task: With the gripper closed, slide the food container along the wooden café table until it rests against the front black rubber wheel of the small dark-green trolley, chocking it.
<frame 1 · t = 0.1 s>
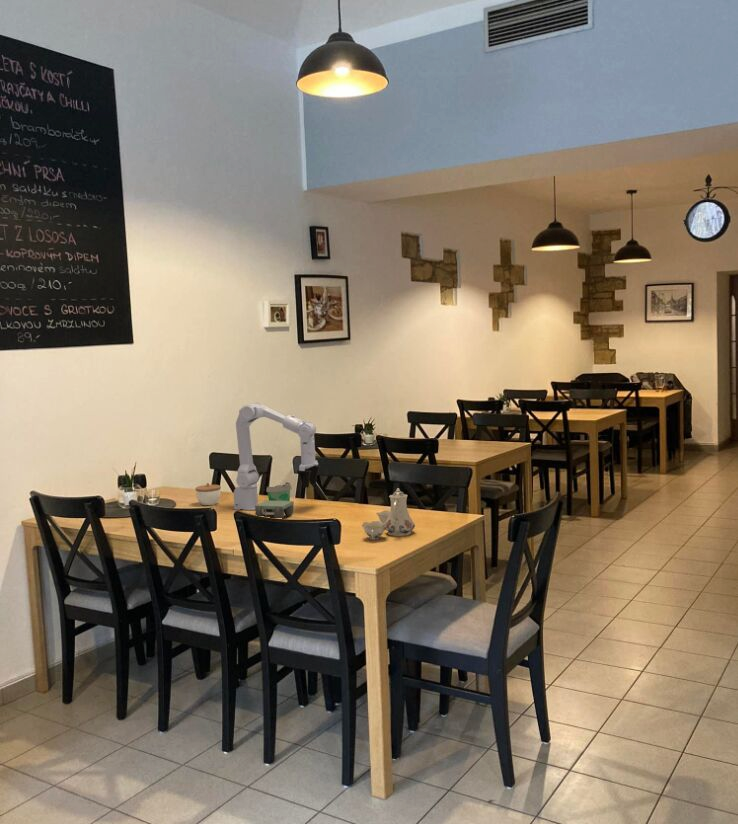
hand: (309, 485, 330), 10 cm above the table, fingers open, 7 cm apart
lidded jar: (209, 505, 351), on the table
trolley: (275, 517, 319), on the table
food container: (283, 509, 335), on the table
chinaware: (391, 533, 286), on the table
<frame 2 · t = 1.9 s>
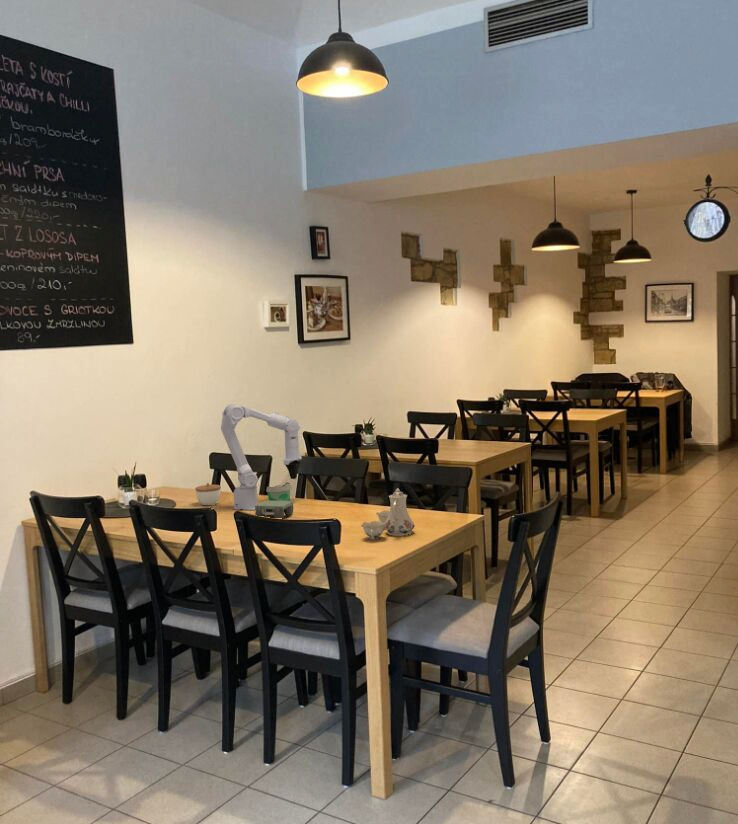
hand: (293, 478, 346), 10 cm above the table, fingers closed
nothing on the table moved.
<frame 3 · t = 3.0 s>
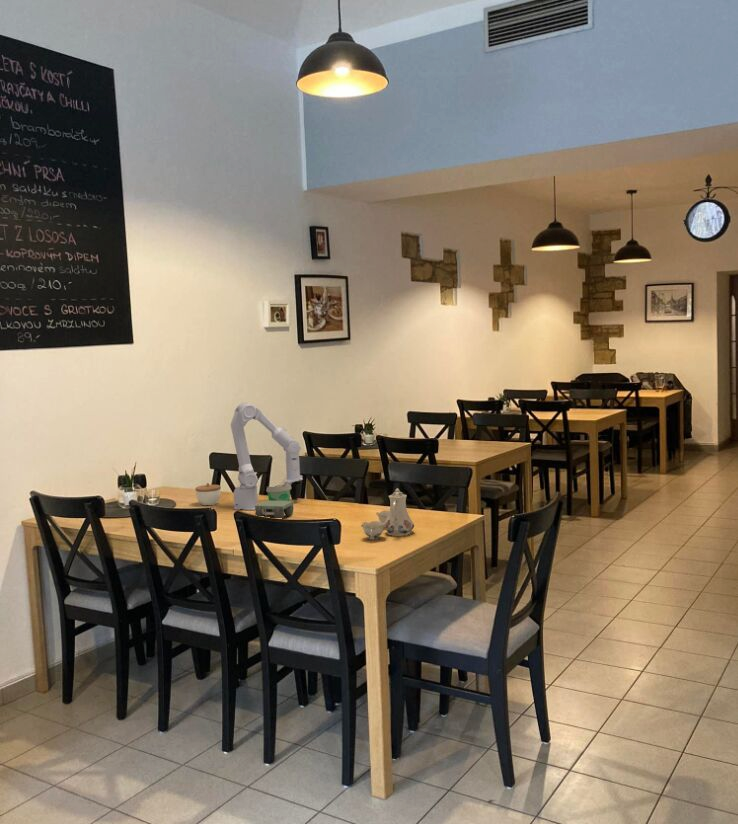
hand: (294, 499, 346), 1 cm above the table, fingers closed
nothing on the table moved.
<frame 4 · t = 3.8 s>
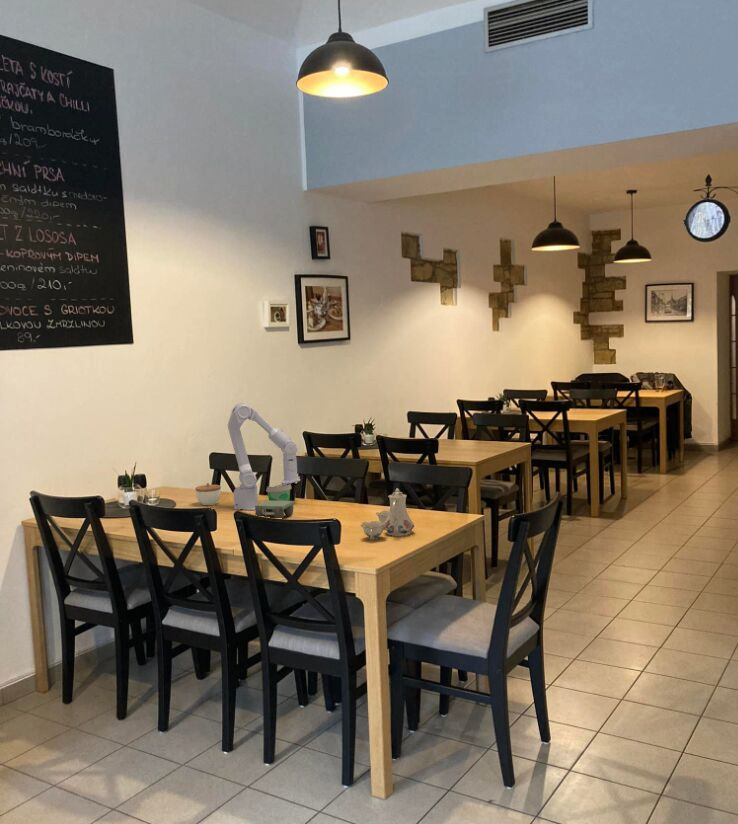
hand: (291, 500, 344), 1 cm above the table, fingers closed
food container: (283, 509, 335), on the table, touching gripper
everything else where it was.
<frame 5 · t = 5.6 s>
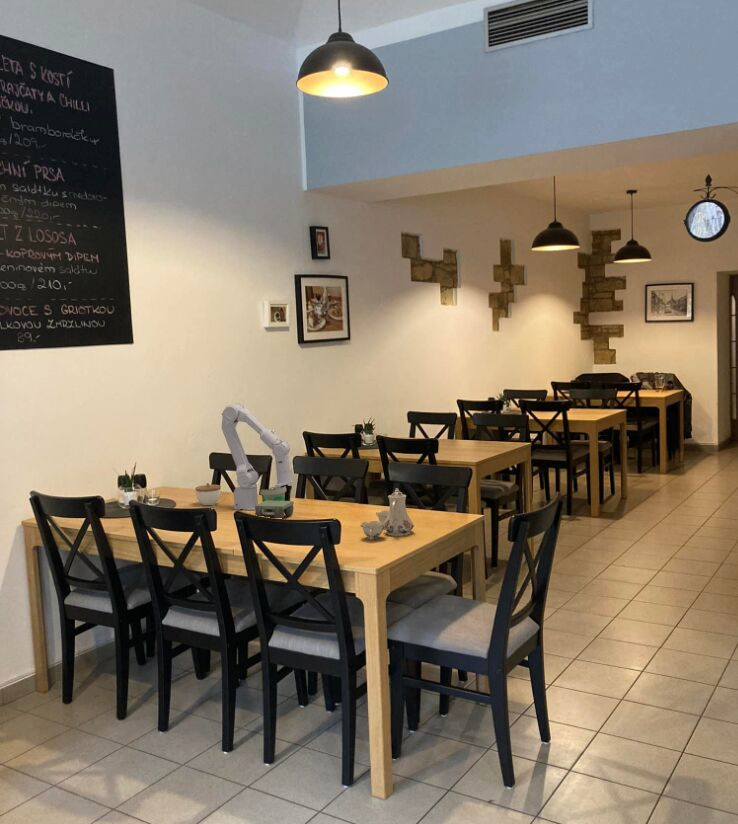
hand: (286, 503, 336), 2 cm above the table, fingers closed, pressing on food container
food container: (277, 511, 330), on the table, touching gripper, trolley
everything else where it was.
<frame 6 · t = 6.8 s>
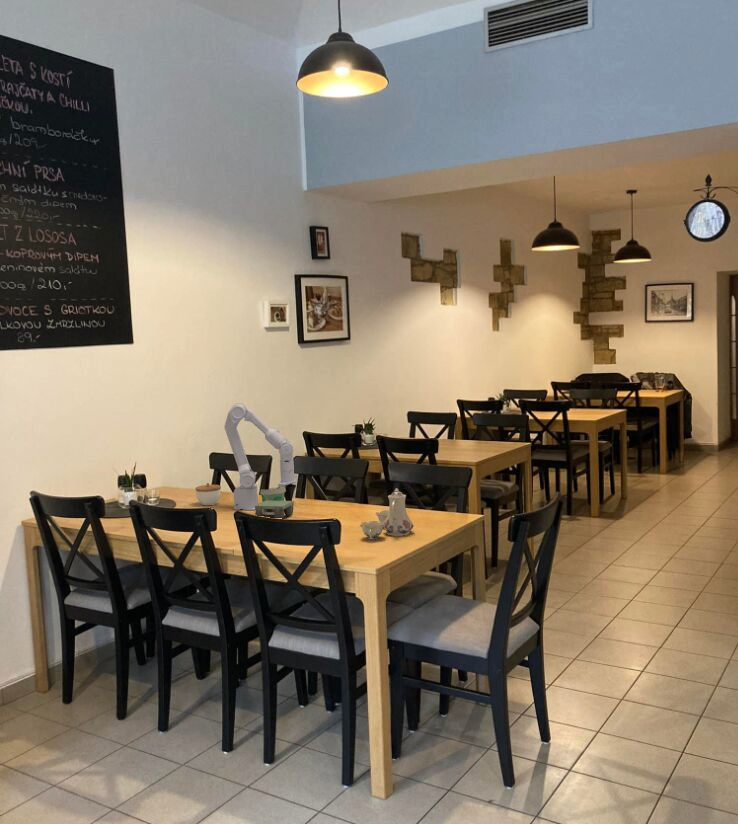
hand: (288, 502, 341), 1 cm above the table, fingers closed
food container: (277, 512, 330), on the table, touching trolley
everything else where it was.
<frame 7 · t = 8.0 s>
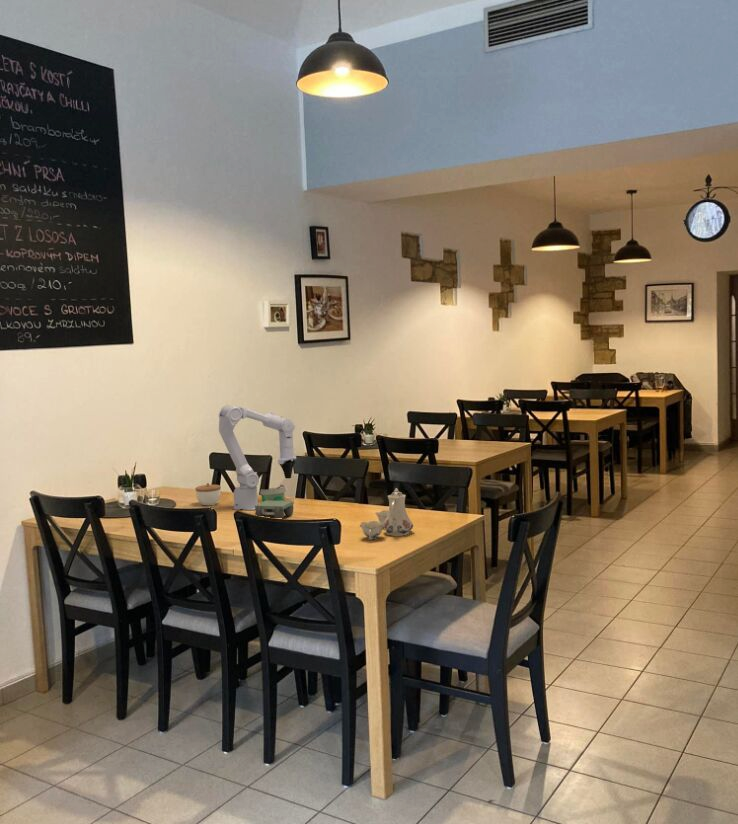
hand: (288, 478, 348), 10 cm above the table, fingers closed
nothing on the table moved.
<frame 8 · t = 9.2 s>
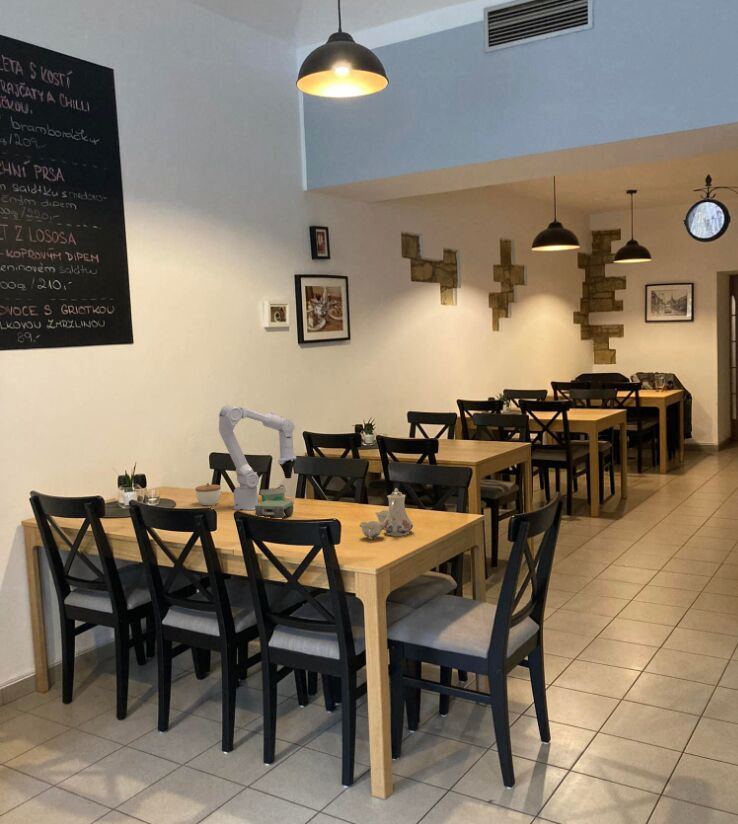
hand: (288, 478, 348), 10 cm above the table, fingers closed
food container: (277, 512, 330), on the table
everything else where it was.
at the end: food container 0.1 cm from the target spot, on the table; food container tilted 0° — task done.
